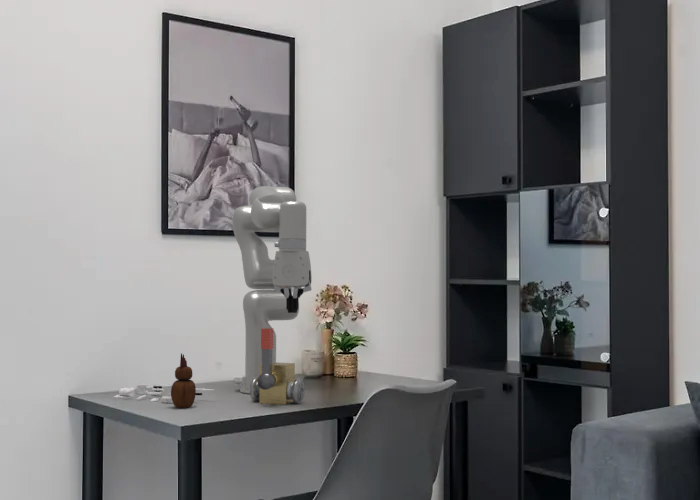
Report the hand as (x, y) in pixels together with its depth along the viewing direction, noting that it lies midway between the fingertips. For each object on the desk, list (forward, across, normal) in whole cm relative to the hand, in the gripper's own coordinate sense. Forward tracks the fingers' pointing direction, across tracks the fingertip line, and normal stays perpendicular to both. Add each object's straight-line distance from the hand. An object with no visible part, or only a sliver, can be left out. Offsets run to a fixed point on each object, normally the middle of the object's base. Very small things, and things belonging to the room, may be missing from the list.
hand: (292, 312), depth 247 cm
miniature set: (+26, -43, +3) cm, 51 cm away
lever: (+21, -8, +1) cm, 23 cm away
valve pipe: (+26, -8, +7) cm, 28 cm away
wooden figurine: (+26, -29, -8) cm, 40 cm away
